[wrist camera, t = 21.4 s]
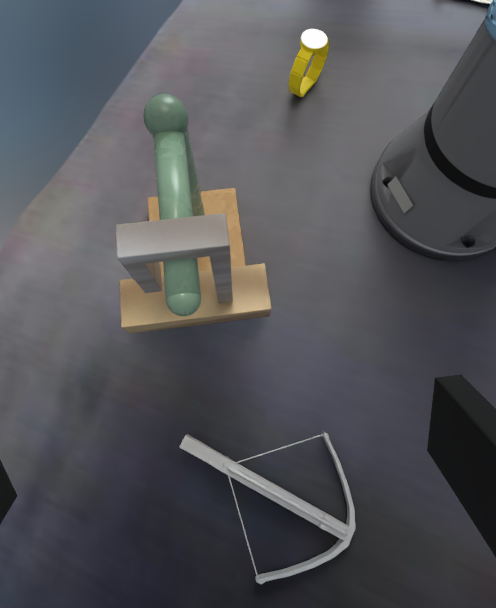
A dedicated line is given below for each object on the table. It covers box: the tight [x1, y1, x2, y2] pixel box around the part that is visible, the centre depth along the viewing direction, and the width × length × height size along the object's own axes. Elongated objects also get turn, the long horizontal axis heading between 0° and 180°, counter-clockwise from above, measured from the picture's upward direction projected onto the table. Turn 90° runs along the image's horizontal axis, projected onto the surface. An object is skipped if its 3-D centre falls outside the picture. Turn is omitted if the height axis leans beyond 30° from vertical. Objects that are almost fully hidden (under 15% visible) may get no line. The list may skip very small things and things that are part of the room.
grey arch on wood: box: [116, 213, 272, 333], centre depth 27 cm, size 4×12×13 cm, turn 97°
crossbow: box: [179, 431, 356, 584], centre depth 32 cm, size 16×13×2 cm
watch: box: [289, 29, 329, 97], centre depth 42 cm, size 6×3×6 cm, turn 145°
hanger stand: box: [144, 94, 246, 316], centre depth 30 cm, size 16×9×17 cm, turn 7°
